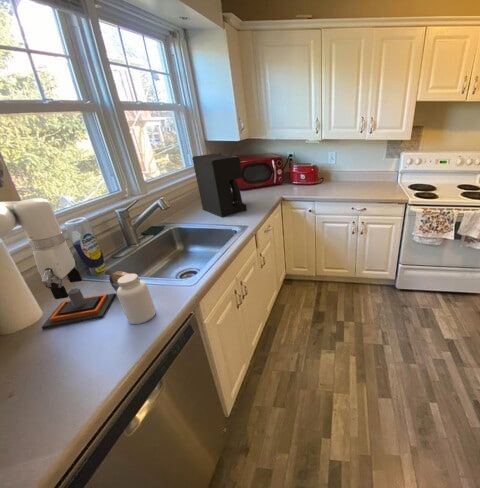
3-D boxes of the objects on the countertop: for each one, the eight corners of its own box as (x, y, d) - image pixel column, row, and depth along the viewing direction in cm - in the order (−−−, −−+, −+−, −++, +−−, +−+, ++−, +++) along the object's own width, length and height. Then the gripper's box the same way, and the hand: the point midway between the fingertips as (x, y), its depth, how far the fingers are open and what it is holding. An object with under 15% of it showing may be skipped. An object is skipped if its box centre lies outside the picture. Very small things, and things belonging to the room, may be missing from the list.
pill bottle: (123, 326, 87) (106, 286, 80) (133, 310, 94) (119, 272, 87) (151, 323, 88) (137, 283, 82) (159, 307, 95) (146, 269, 89)
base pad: (42, 329, 86) (39, 323, 85) (63, 304, 97) (60, 299, 96) (103, 317, 91) (100, 312, 90) (116, 295, 102) (114, 290, 101)
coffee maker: (251, 211, 185) (244, 156, 170) (225, 219, 172) (215, 160, 157) (228, 203, 202) (219, 152, 187) (202, 209, 189) (191, 156, 174)
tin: (112, 291, 104) (104, 271, 101) (121, 286, 107) (113, 267, 103) (140, 300, 99) (133, 280, 95) (148, 295, 102) (141, 275, 98)
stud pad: (61, 317, 90) (51, 299, 87) (69, 305, 95) (61, 288, 92) (94, 311, 92) (86, 293, 89) (100, 300, 98) (93, 283, 94)
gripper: (47, 231, 89) (68, 277, 96) (12, 255, 74) (40, 307, 81) (76, 229, 91) (93, 274, 98) (47, 251, 76) (71, 302, 83)
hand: (69, 289), depth 90 cm, fingers open, 9 cm apart
